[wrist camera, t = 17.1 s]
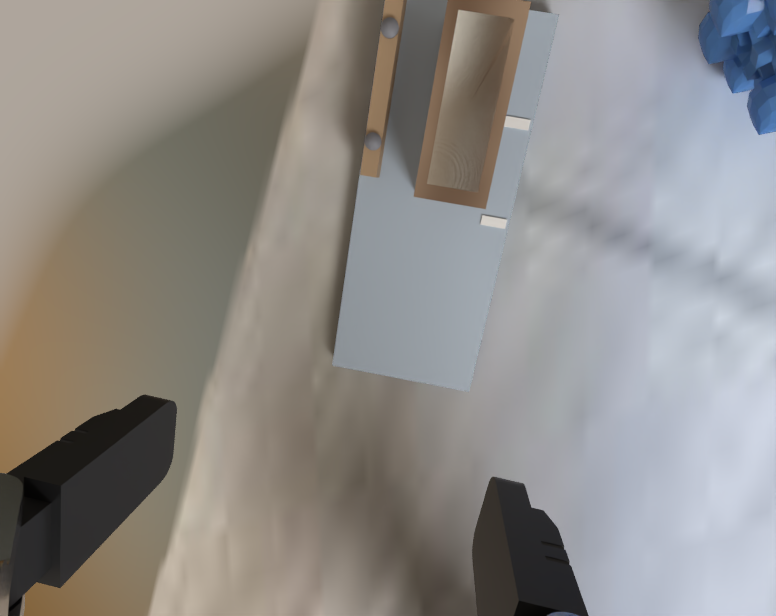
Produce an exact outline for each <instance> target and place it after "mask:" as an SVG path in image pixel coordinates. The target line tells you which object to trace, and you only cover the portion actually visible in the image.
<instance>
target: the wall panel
mask: <svg viewBox="0 0 776 616" xmlns="http://www.w3.org/2000/svg"><path fill="white" fill-rule="evenodd" d="M447 2H448V0H384V7H383V14H382V21H381V28H380V35H379V42H378V49H377V56H376V63H375V70H374V77H373V84H372V91H371V98H370V105H369V112H368V119H367V126H366V133H365V140H364V147H363V154H362V161H361V168H360V175H359V182H358V189H357V196H356V203H355V210H354V217H353V224H352V231H351V238H350V245H349V252H348V259H347V266H346V273H345V280H344V287H343V294H342V301H341V308H340V315H339V322H338V329H337V336H336V343H335V350H334V357H333V364H332V366H337V367H342V368H348V369H353V370H358V371H363V372H368V373H373V374H379V375H384V376H389V377H394V378H399V379H404V380H410V381H415V382H420V383H425V384H430V385H435V386H441V387H446V388H451V389H456V390H461V391H466V392H469V390H470V386H471V382H472V378H473V374H474V369H475V365H476V361H477V357H478V353H479V348H480V344H481V340H482V336H483V332H484V327H485V323H486V319H487V315H488V311H489V306H490V302H491V298H492V294H493V290H494V285H495V281H496V277H497V273H498V269H499V265H500V260H501V256H502V252H503V248H504V244H505V239H506V235H507V231H508V227H509V223H510V218H511V214H512V210H513V206H514V202H515V197H516V193H517V189H518V185H519V181H520V176H521V172H522V168H523V164H524V160H525V156H526V151H527V147H528V143H529V139H530V135H531V130H532V126H533V122H534V118H535V114H536V109H537V105H538V101H539V97H540V93H541V88H542V84H543V80H544V76H545V72H546V67H547V63H548V59H549V55H550V51H551V47H552V42H553V38H554V34H555V30H556V26H557V21H558V17H559V14H553V13H546V12H540V11H534V10H529V14H528V19H527V23H526V28H525V33H524V37H523V42H522V46H521V51H520V55H519V60H518V64H517V69H516V74H515V78H514V83H513V87H512V92H511V96H510V101H509V105H508V110H507V115H506V119H505V124H504V128H503V133H502V137H501V142H500V146H499V151H498V156H497V160H496V165H495V169H494V174H493V178H492V183H491V187H490V192H489V197H488V201H487V206H486V209H481V208H475V207H469V206H464V205H458V204H452V203H446V202H441V201H435V200H429V199H423V198H417V197H414V191H415V185H416V179H417V174H418V168H419V162H420V156H421V151H422V145H423V139H424V134H425V128H426V122H427V116H428V111H429V105H430V99H431V93H432V88H433V82H434V76H435V71H436V65H437V59H438V53H439V48H440V42H441V36H442V30H443V25H444V19H445V13H446V7H447Z"/></svg>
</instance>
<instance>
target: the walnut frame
mask: <svg viewBox="0 0 776 616" xmlns="http://www.w3.org/2000/svg"><path fill="white" fill-rule="evenodd" d="M530 5H531V2H528V1H522V0H448V2H447V7H446V13H445V19H444V25H443V30H442V36H441V42H440V48H439V53H438V59H437V65H436V71H435V76H434V82H433V88H432V93H431V99H430V105H429V111H428V116H427V122H426V128H425V134H424V139H423V145H422V151H421V156H420V162H419V168H418V174H417V179H416V185H415V191H414V197H417V198H423V199H429V200H435V201H441V202H446V203H452V204H458V205H464V206H469V207H475V208H481V209H486V206H487V201H488V197H489V192H490V187H491V183H492V178H493V174H494V169H495V165H496V160H497V156H498V151H499V146H500V142H501V137H502V133H503V128H504V124H505V119H506V115H507V110H508V105H509V101H510V96H511V92H512V87H513V83H514V78H515V74H516V69H517V64H518V60H519V55H520V51H521V46H522V42H523V37H524V33H525V28H526V23H527V19H528V14H529V10H530Z"/></svg>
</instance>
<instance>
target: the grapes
mask: <svg viewBox="0 0 776 616" xmlns="http://www.w3.org/2000/svg"><path fill="white" fill-rule="evenodd" d="M709 10H710V12H708V13H707V15H706V16H705V18H704V19H703V21H702V22H701V24H700V25H699V36H698V39H699V42H700V46H701V49H702V52H703V55H704V57H705V59H706V60H707V62H708V64H712V63H719V62H723V61H724V64H723V71H724V75H725V78H726V81H727V84H728V86H729V88H730V89H731V91H732V93H738V92H744V91H748V90H752V89H753V90H752V91H751V92H750V93H749V98H748V103H747V108H748V111H749V115H750V118H751V121H752V123H753V125H754V127H755V129H756V131H757V132H758V134H759V135H760V134H765V133H770V132H775V131H776V0H710V3H709Z"/></svg>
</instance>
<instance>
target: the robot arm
mask: <svg viewBox="0 0 776 616" xmlns="http://www.w3.org/2000/svg"><path fill="white" fill-rule="evenodd" d="M176 414H177V407H176V404H175V402H174V401H170V400H166V399H162V398H157V397H153V396H148V395H142V396H140V397H138V398H137V399H135V400H134V401H132V402H131V403H130V404H128V405H127V406H125V407H124V408H122V409H121V410H118V409H114V410H112V411H109V412H106V413H103V414H100V415H97V416H94V417H92V418H91V419H89V420H88V421H86V422H84V423H83V424H81V425H80V426H78V427H77V428H76V429H75V431H71V432H69V433H68V434H66V435H65V436H63V437H62V438H61V440H60V441H56V442H54V443H52V444H51V445H49V446H48V447H46V448H45V449H43V450H42V451H40V452H39V453H37V454H36V455H34V456H33V457H31V458H30V459H28V460H27V461H25V462H24V463H22V464H20V465H19V466H17V467H16V468H14V469H13V470H11V471H10V472H8V473H7V474H4V473H0V616H23V614H24V606H25V593H26V592H27V591H28V590H29V589H30V588H31V587H32V586H33V585H34V584H35V583H36V582H38V583H42V584H46V585H50V586H54V587H58V588H61V587H62V586H63V584H64V583H65V582H66V581H67V580H68V579H69V578H70V577H71V576H72V575H73V574H74V573H75V572H76V571H77V570H78V569H79V568H80V567H81V565H82V564H83V563H84V562H85V561H86V560H87V559H88V558H89V557H90V556H91V555H92V554H93V553H94V552H95V550H97V549H98V548H99V547H100V545H101V544H102V543H103V542H104V541H105V540H106V539H107V538H108V537H109V536H110V535H111V534H112V533H113V532H114V531H115V530H116V529H117V528H118V527H119V525H121V523H122V522H123V521H124V520H125V519H126V518H127V517H128V516H129V515H130V514H131V513H132V512H133V511H134V510H135V509H136V508H137V507H138V506H139V505H140V504H141V502H142V501H143V500H144V499H145V498H146V497H147V496H148V495H149V494H150V493H151V492H152V491H153V490H154V489H155V488H156V487H157V485H159V484H160V483H161V481H162V480H163V479H164V477H165V476H166V474H167V472H168V470H169V468H170V465H171V462H172V458H173V450H174V438H175V426H176ZM472 559H473V570H474V581H475V592H476V603H477V614H478V616H588V613H587V610H586V607H585V604H584V602H583V599H582V596H581V593H580V590H579V587H578V584H577V582H576V579H575V576H574V573H573V570H572V567H571V566H570V565H569V559H568V556H567V553H566V550H564V545H563V542H562V539H561V536H560V533H559V530H558V528H557V527H556V525H555V524H554V523H553V522H552V520H551V519H550V518H549V517H548V516H547V514H546V513H545V512H544V511H543V510H539V509H535V508H531V505H530V502H529V498H528V495H527V491H526V488H525V485H524V484H523V483H519V482H514V481H510V480H506V479H501V478H497V477H492V478H491V479H490V481H489V484H488V487H487V491H486V494H485V498H484V501H483V505H482V508H481V512H480V515H479V518H478V522H477V525H476V529H475V533H474V539H473V549H472Z"/></svg>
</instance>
